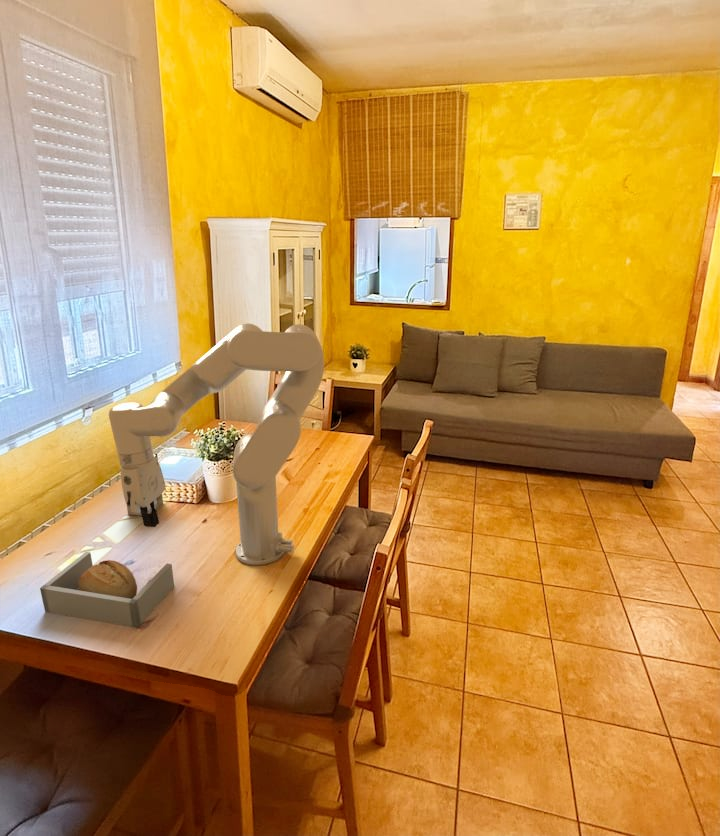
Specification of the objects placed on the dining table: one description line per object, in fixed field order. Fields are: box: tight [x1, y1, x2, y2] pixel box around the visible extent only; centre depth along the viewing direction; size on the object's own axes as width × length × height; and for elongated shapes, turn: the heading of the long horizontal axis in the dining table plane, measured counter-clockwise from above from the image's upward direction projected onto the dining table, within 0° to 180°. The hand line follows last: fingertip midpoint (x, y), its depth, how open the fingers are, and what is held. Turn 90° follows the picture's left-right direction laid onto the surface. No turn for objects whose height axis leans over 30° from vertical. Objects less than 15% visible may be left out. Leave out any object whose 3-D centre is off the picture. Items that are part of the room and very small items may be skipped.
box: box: [39, 551, 175, 628], centre depth 120 cm, size 22×14×6 cm, turn 77°
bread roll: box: [77, 559, 138, 599], centre depth 120 cm, size 10×15×8 cm, turn 63°
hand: (151, 525), depth 131 cm, fingers closed
